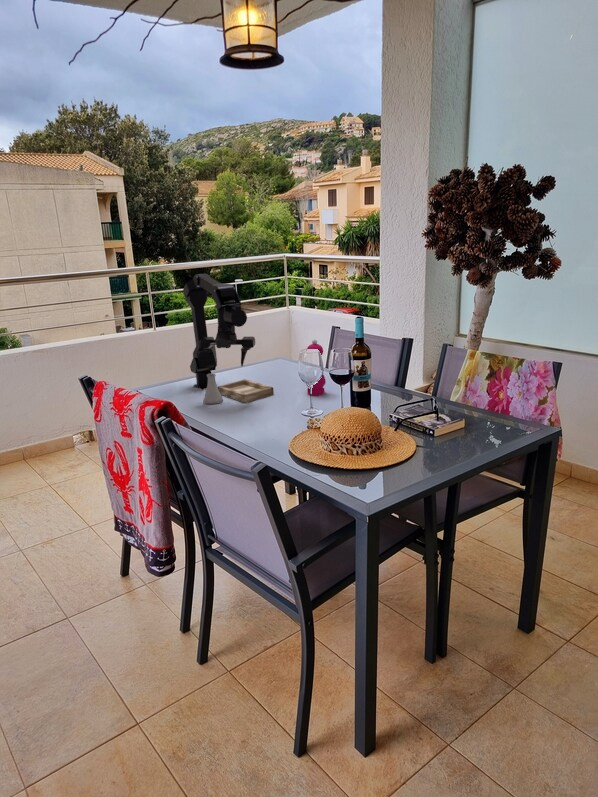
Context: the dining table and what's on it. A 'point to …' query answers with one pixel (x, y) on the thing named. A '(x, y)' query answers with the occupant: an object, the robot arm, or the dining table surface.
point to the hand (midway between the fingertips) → (229, 366)
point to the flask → (212, 391)
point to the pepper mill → (318, 386)
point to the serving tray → (246, 390)
